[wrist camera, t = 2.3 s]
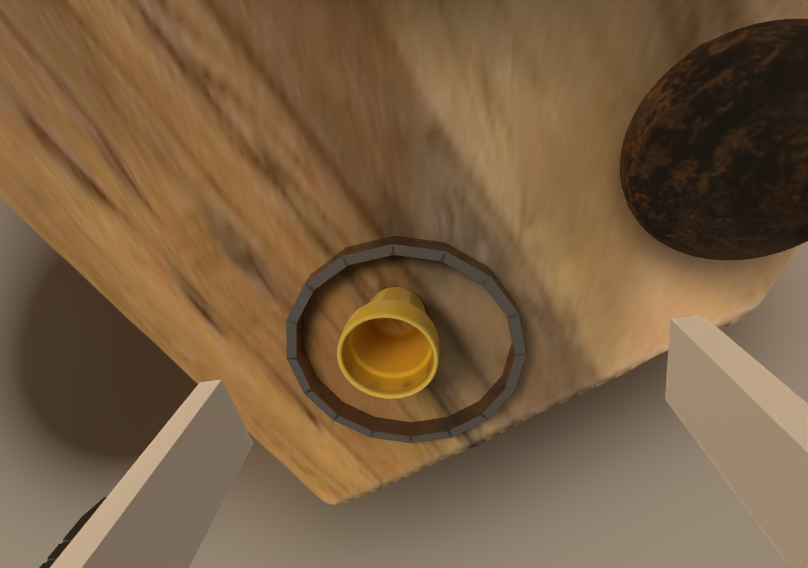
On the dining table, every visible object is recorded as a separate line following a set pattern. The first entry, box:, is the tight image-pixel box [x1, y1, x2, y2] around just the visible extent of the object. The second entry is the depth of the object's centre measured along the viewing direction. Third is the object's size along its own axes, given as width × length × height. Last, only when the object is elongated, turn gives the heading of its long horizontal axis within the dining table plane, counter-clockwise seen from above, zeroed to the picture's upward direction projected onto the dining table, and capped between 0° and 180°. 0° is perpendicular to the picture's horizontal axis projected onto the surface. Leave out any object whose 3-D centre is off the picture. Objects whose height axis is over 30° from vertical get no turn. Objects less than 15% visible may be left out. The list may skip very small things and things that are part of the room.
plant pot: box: [337, 287, 439, 399], centre depth 45 cm, size 10×10×10 cm
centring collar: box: [286, 236, 526, 443], centre depth 50 cm, size 28×28×2 cm
